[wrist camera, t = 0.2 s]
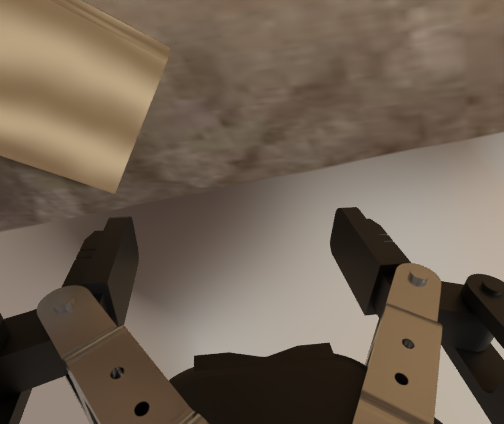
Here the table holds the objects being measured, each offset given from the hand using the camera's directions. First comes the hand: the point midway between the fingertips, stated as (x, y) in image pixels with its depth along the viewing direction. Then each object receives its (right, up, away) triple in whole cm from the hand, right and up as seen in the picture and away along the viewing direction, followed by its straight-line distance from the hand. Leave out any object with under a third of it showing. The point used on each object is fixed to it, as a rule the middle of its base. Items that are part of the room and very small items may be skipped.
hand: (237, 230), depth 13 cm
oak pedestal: (-16, +12, +16) cm, 26 cm away
